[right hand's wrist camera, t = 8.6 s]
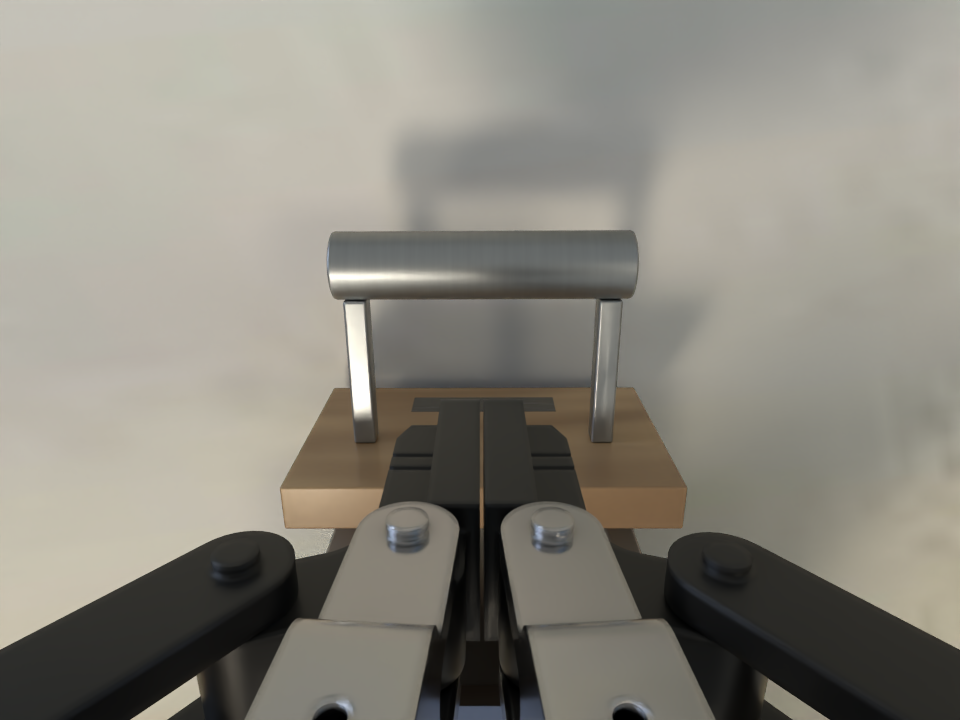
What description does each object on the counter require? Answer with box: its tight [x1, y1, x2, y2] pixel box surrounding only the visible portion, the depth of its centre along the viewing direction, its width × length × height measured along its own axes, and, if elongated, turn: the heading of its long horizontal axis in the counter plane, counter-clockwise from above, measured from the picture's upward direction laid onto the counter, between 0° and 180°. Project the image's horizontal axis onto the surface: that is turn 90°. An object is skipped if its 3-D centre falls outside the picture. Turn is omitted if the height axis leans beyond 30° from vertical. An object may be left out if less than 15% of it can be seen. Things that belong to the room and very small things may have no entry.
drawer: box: [280, 230, 687, 706], centre depth 20 cm, size 18×10×6 cm, turn 0°
